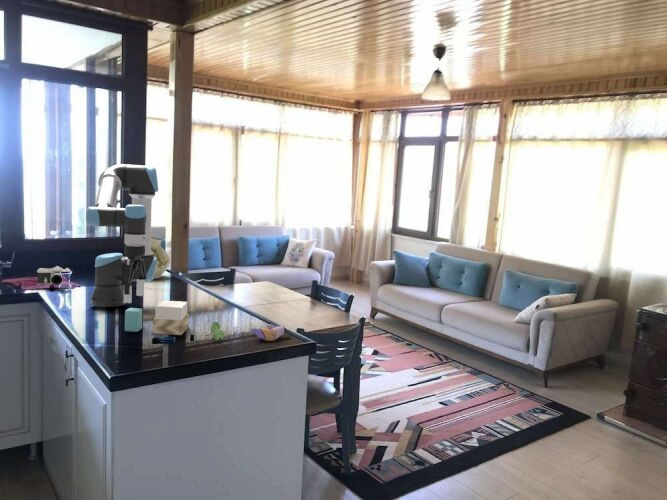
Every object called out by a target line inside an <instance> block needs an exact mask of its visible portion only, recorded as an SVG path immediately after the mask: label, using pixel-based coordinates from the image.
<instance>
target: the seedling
mask: <svg viewBox="0 0 667 500" xmlns="http://www.w3.org/2000/svg"><path fill="white" fill-rule="evenodd" d="M209 330H210V334H206V335H204V337H208V336H211V335H212V337H213V339H215V340H216V341H219V340H220V339H223V338H225V335H226V333H225V332H224V330H222V329H221V325H220V324H219V322H218V321H214V322H213V323H212V325H210V329H209Z"/></svg>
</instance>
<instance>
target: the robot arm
mask: <svg viewBox="0 0 667 500" xmlns="http://www.w3.org/2000/svg"><path fill="white" fill-rule="evenodd" d="M157 175H158V173H157V169H156V168H155V167H154V166H152V165H146V164H145V165H143V164H141V165H140V164H125V163H124V164H123V163H120V164H119V163H118V164H117V163H116V164H114V165H112V166H110V167H108V168H106V169H105V170H103V172H102V173H101V174H100V176H99V178H98V182H97V183H98V191H97V195H96V199H95V203H94V206H88V207H87V208H86V214H85V216H86V217H85V221H86V224H87V225H88V226H90V227H115V228H124V241H123V243H124V244H125V245H124V255H125V256H124V255H123V253H121V252H111V253H104V254H103V253H102V254H100V255H98V256H96V257H95V260H94V261H95V264H94V268H95V269H94V270H95V271H94V273H95V274H94V275H95V276H94V289H93V292H92V295H91V298H90V306H91V305H92V306H94V307H98V308H113V307H119V306H123V305H125V304H132V302H133V301H132V300H133V299H132V295H133V293H132V287H133V286H132V282H136V294H135V296H139V297H143V296H145V282H152V281H153V280H155V279H154V274H155V267H156V261H157V257H154V253H153V252H152V251H151V237H152V232H151V231H152V204H153V203H152V200H153V198H154V197H155V196H156V193H157V192H159V182H158V176H157ZM120 190H123V191H128V195H129V196H130V197H131V204H127V205H126V206H125V208H124V207H116V204H117V198H118V193H119V191H120Z"/></svg>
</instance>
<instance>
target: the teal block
mask: <svg viewBox="0 0 667 500" xmlns="http://www.w3.org/2000/svg"><path fill="white" fill-rule="evenodd" d="M142 329H143V308H137V307H128V308H127V309H126V310H125V311H124V332H135V333H137V332H139V331H140V330H142Z"/></svg>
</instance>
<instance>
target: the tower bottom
mask: <svg viewBox="0 0 667 500" xmlns="http://www.w3.org/2000/svg"><path fill="white" fill-rule="evenodd" d="M189 323H190V313H187V315H186V316H185V317H184V318H183V319H182V320H166V319H155V317H154V318H152V334H157V335H175V336H176V335H177V336H182V335H183V334H184V333H185V332H186V331H187V330H188V329H189V327H190V326H189V325H190V324H189Z"/></svg>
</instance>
